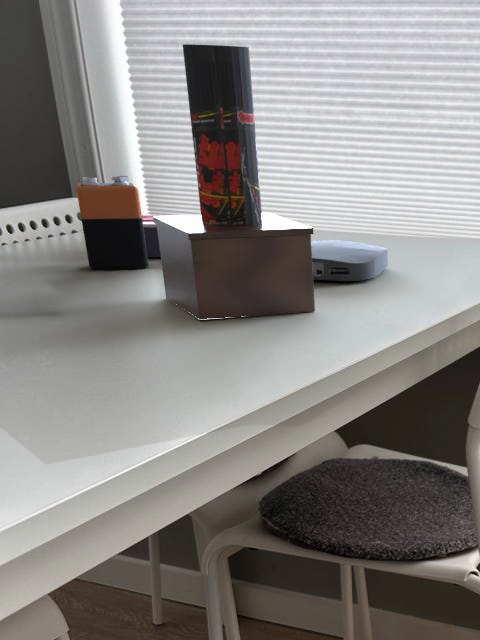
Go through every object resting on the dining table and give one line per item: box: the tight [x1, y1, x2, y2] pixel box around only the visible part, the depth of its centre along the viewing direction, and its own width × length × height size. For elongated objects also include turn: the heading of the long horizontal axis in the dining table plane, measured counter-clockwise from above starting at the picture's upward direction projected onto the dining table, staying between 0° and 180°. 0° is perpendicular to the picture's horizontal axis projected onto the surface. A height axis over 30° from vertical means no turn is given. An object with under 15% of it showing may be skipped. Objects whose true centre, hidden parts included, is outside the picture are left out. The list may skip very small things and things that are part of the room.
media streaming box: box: [311, 239, 389, 282], centre depth 117 cm, size 15×15×3 cm
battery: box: [75, 175, 149, 271], centre depth 114 cm, size 4×7×10 cm, turn 111°
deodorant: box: [182, 43, 263, 226], centre depth 91 cm, size 6×6×15 cm
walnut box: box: [153, 212, 316, 319], centre depth 97 cm, size 12×12×8 cm
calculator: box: [142, 213, 201, 258], centre depth 128 cm, size 11×4×15 cm
